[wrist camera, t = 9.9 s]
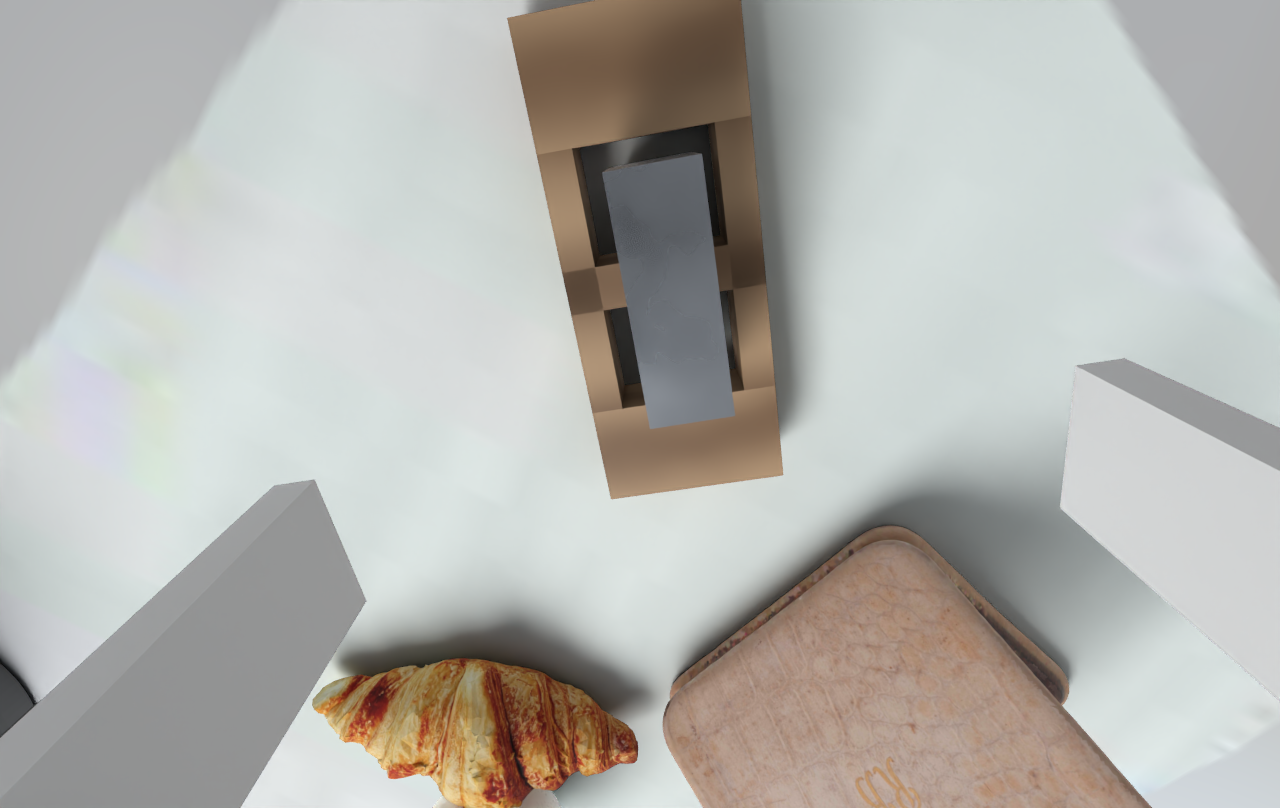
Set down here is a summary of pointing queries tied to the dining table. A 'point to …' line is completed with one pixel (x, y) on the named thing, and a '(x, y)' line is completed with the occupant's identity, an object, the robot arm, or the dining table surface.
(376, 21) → the dining table surface
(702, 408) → the grey bridge block
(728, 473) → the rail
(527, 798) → the lidded jar
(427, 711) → the croissant
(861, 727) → the case
